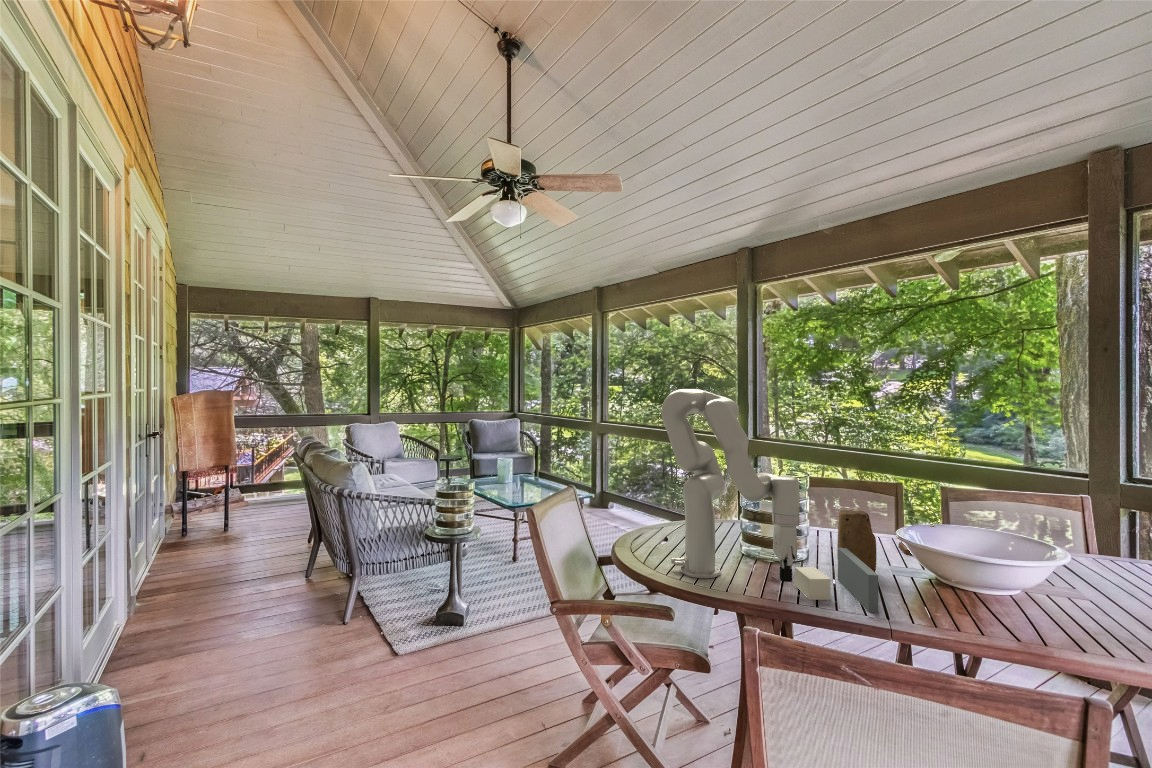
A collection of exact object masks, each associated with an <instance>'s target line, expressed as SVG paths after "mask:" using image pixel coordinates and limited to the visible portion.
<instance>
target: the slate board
mask: <svg viewBox="0 0 1152 768" xmlns="http://www.w3.org/2000/svg"><path fill="white" fill-rule="evenodd" d="M837 550H838V557H837V581H838V582H839V583H840V584H841V585H842V586H843V587H844V588H845V589H846V590H847V592H848V593H850V594H851V595H852V596H853V597H854V599H855V600H856V601H857V602H858V603H859V604H860V605H861V606H862V607H863V608H864V609H865V611H867V612H868V613H876V614H877V613H879V574H878V573H876V571H875V572H874V571H873V570H872V569H870V568H869V567H868V566H867V565H866V564H864V563H863V562H862V561H861V560H860V559H859V558H857V557H856V556H855V555H854V554H853V553H851V552H850V551H849V550H848V549H847V548H838V549H837Z"/></svg>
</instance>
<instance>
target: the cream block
mask: <svg viewBox="0 0 1152 768" xmlns="http://www.w3.org/2000/svg"><path fill="white" fill-rule="evenodd" d="M831 580H832V579H831V578H830V577H829V576H827V575H826V574H825V573H823V572H822V571H821V570H819V569H818V568H816V567H815V566H795V567H794V587H795V586H796V587H797V588H798V589H799V590H800V591H801V592H800V591H799V590H798V589H797V588H796V587H795V588H796V589H797V590H798V591H799V592H800V593H802V594H803V595H804V594H805V595H806V596H807V597H808V598H807V597H806V596H805V595H804V596H805V597H806V598H807V599H808V600H811V601H814V600H815V601H816V600H819V601H820V600H821V601H823V600H827V601H828V600H829V601H830V600H831V598H832V596H831V594H832V593H831V591H832V590H831V588H832V587H831Z"/></svg>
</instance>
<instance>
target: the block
mask: <svg viewBox="0 0 1152 768" xmlns="http://www.w3.org/2000/svg"><path fill="white" fill-rule="evenodd" d="M837 524H838V525H837V547H836V548H837V552H836V553H837V557H836V558H838V548H847V549H848V550H849V551H850V552H851V553H853V554H854V555H855V556H856V557H857V558H859V559H860V560H861V561H862V562H863V563H864V564H866V565H867V566H868V567H869V568H870V569H872V570H873V571H874V572H875V573H876V570H877V538H876V536H875V534H874V533H873V529H872V524H871V519H870V516H869V513H867V512H866V511H863V510H853V509H847V510H846V509H844V510H840V511H839V513H838V523H837Z"/></svg>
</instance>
